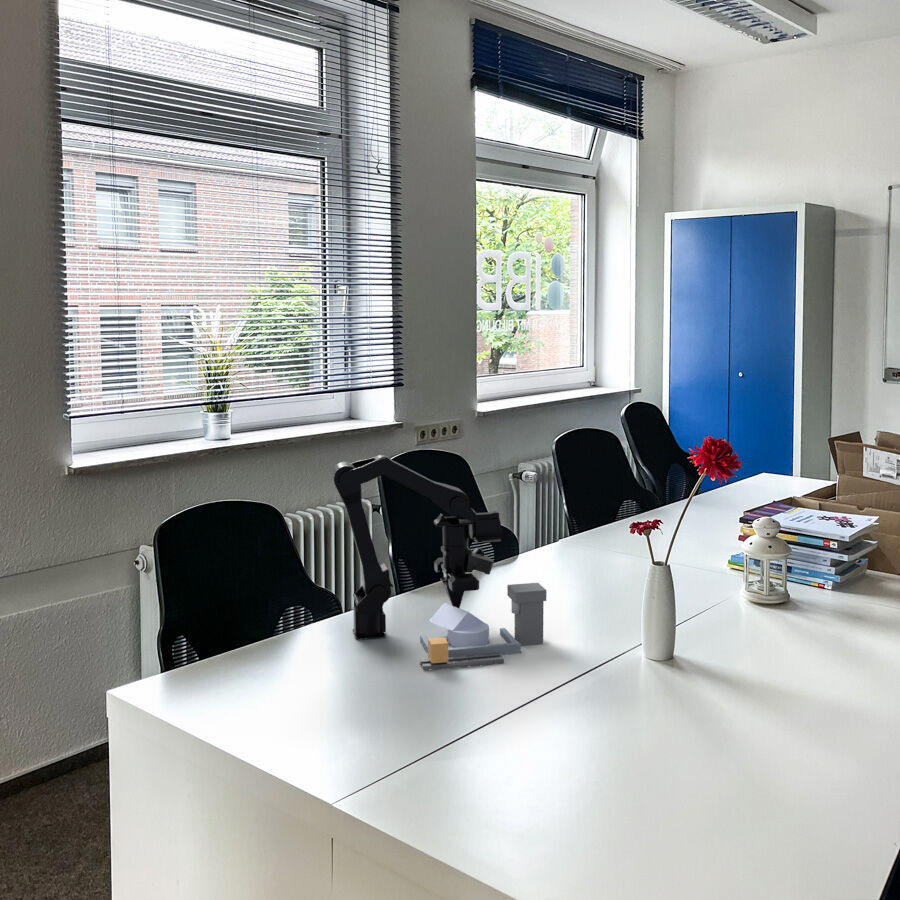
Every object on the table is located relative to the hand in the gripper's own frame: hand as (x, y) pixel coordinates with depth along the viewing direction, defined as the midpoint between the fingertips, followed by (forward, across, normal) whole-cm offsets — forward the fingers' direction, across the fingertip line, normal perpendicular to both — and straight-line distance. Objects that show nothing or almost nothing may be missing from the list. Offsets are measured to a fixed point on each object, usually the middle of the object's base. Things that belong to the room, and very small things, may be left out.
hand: (456, 610), depth 227 cm
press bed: (+4, -13, -3) cm, 14 cm away
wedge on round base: (+4, -8, +1) cm, 9 cm away
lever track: (+4, -23, +4) cm, 24 cm away
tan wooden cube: (+4, -23, +10) cm, 25 cm away
